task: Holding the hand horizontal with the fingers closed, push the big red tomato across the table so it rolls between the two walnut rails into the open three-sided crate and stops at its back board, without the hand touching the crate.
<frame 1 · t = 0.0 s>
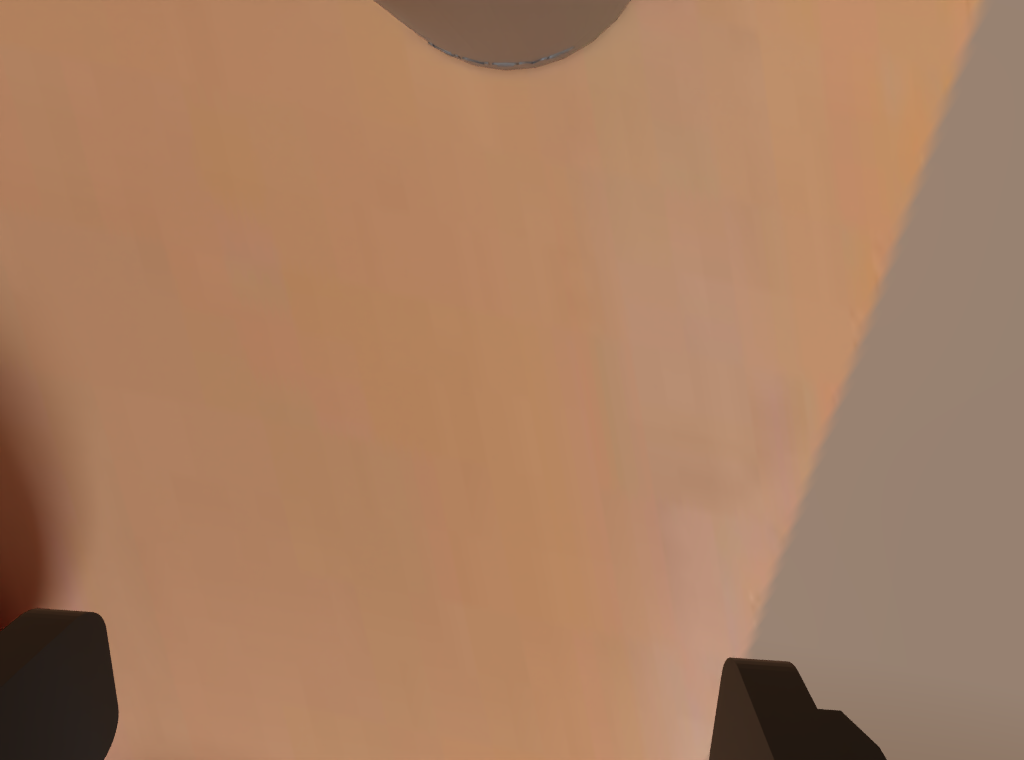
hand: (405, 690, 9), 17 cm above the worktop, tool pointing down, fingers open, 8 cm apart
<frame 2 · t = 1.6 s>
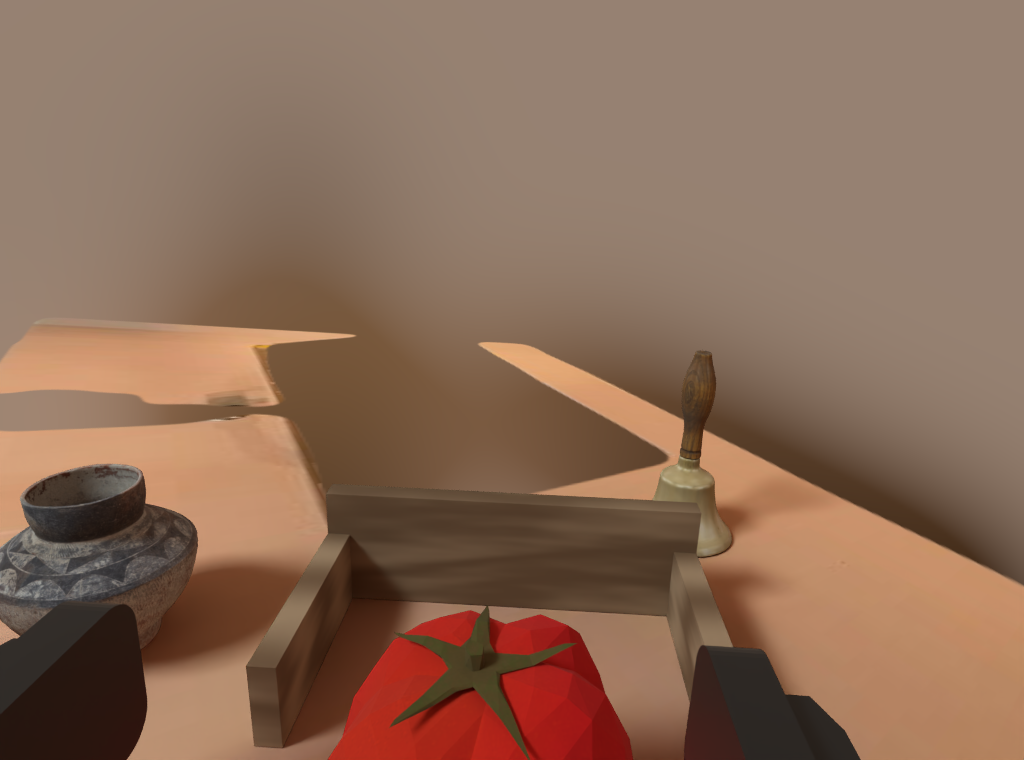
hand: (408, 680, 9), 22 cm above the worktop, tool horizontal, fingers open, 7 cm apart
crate: (501, 672, 40), on the worktop
hand bell: (680, 534, 58), on the worktop
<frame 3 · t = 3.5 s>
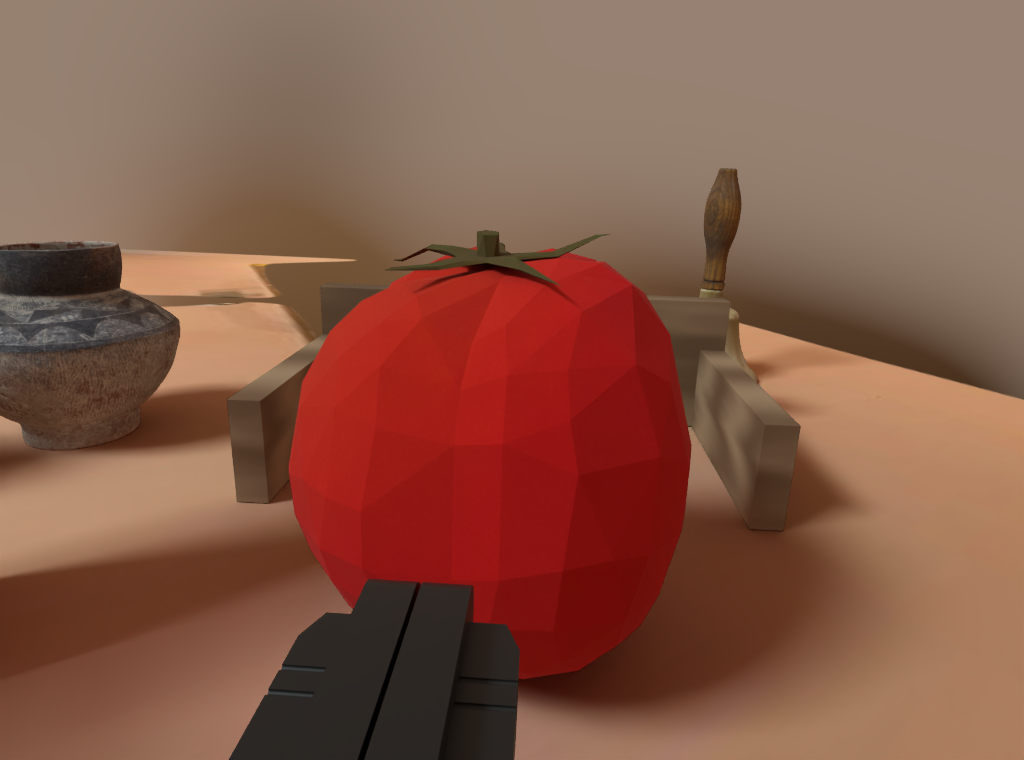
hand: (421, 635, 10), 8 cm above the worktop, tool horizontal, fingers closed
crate: (512, 458, 37), on the worktop
hand bell: (702, 379, 54), on the worktop
tomato: (490, 634, 23), on the worktop
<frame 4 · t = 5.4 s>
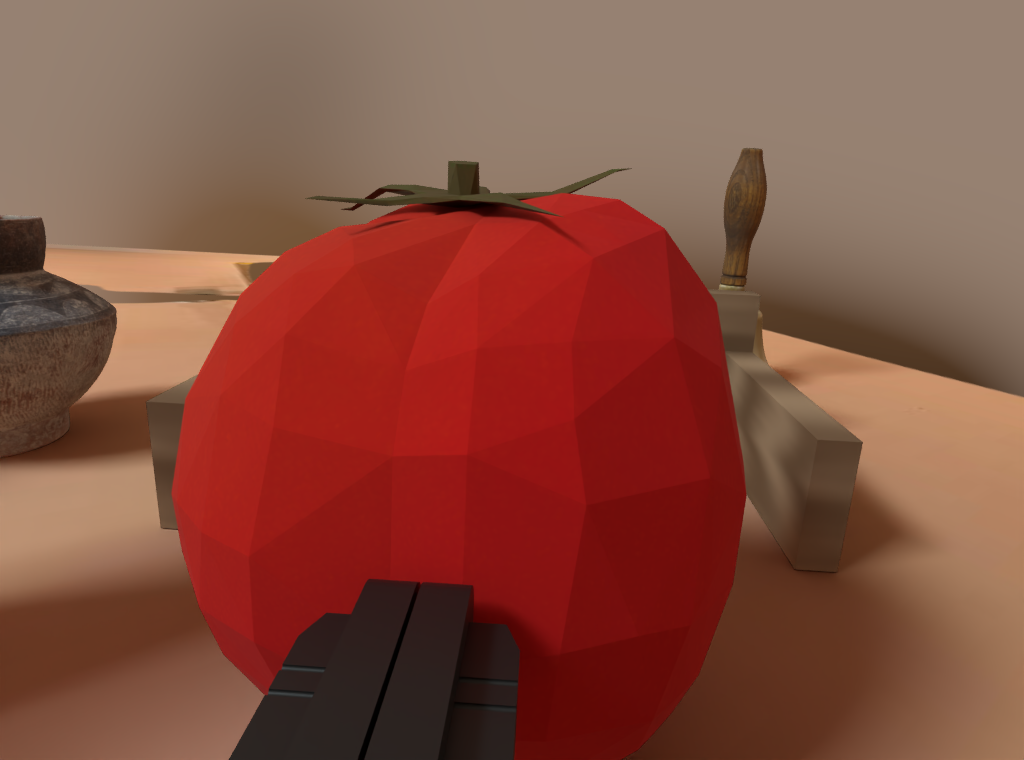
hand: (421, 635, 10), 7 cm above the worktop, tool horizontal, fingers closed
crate: (503, 476, 31), on the worktop
hand bell: (719, 386, 48), on the worktop
tomato: (465, 705, 17), on the worktop, touching gripper
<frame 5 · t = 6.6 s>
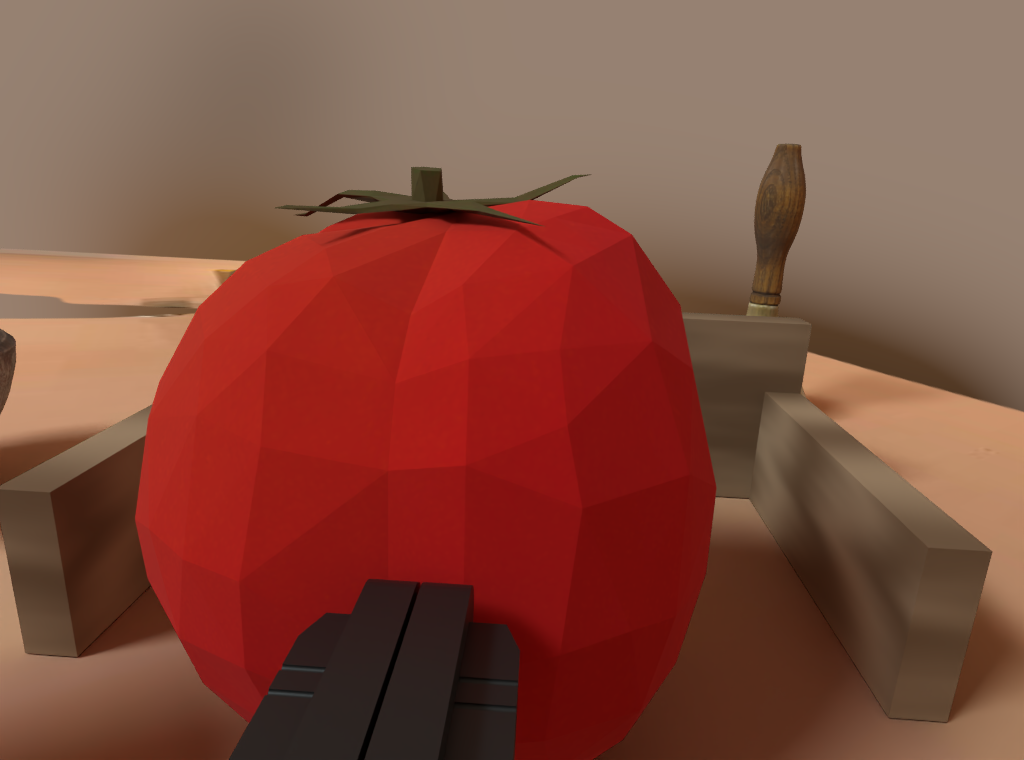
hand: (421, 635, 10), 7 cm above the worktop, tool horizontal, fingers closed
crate: (492, 558, 24), on the worktop
hand bell: (747, 420, 41), on the worktop
tomato: (438, 711, 17), on the worktop, touching gripper
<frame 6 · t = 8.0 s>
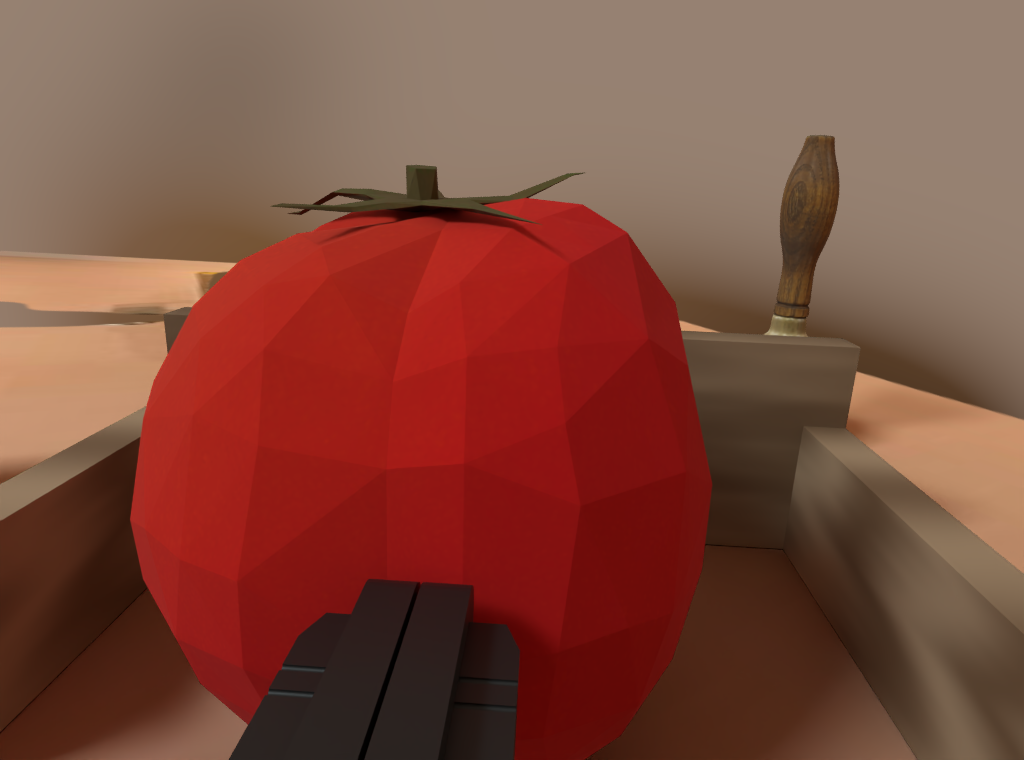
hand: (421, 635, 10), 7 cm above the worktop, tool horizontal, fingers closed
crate: (479, 638, 20), on the worktop
hand bell: (770, 446, 37), on the worktop
tomato: (434, 709, 17), on the worktop, touching gripper
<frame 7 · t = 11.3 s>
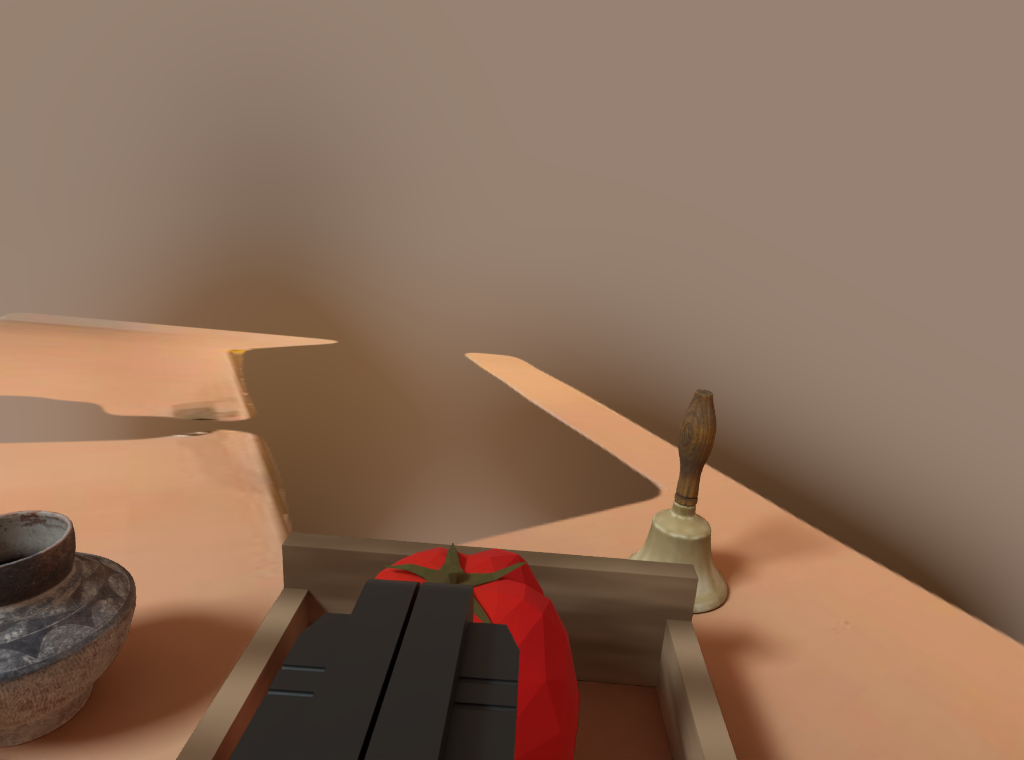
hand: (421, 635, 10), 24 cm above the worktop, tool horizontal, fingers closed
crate: (471, 757, 36), on the worktop
hand bell: (672, 584, 53), on the worktop
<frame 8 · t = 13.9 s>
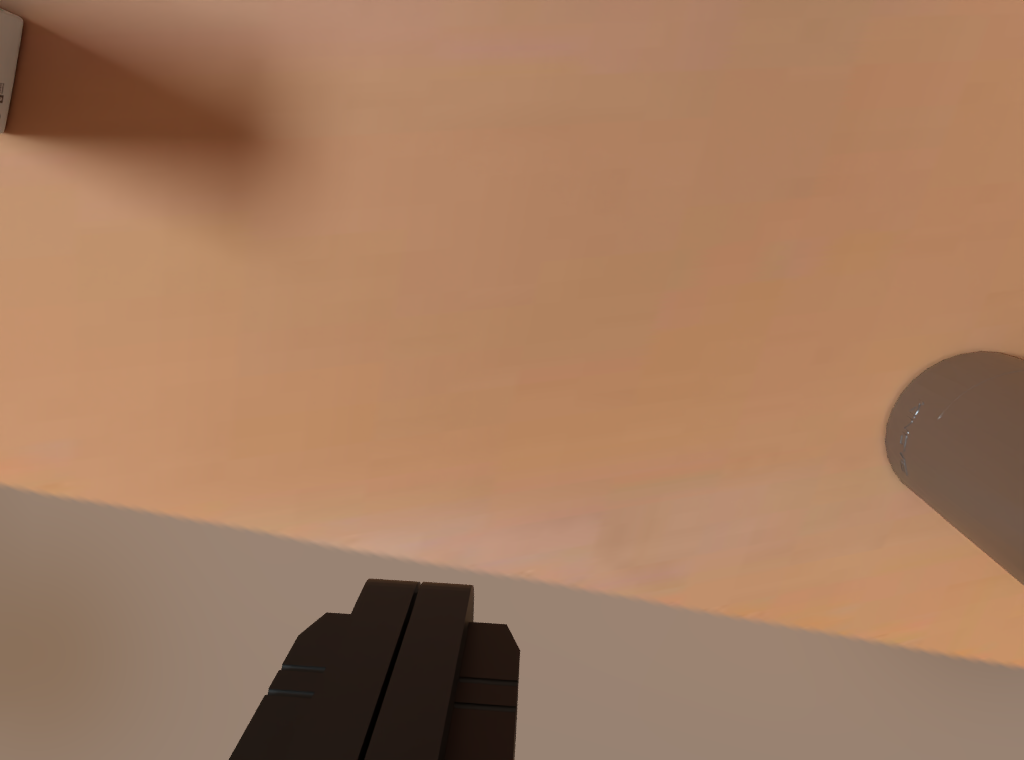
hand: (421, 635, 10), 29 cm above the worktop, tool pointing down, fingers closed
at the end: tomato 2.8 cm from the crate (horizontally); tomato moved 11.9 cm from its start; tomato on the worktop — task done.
